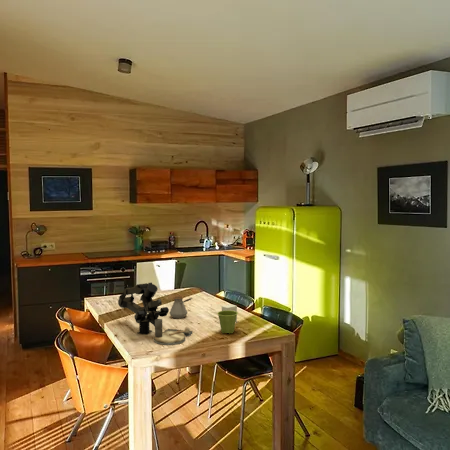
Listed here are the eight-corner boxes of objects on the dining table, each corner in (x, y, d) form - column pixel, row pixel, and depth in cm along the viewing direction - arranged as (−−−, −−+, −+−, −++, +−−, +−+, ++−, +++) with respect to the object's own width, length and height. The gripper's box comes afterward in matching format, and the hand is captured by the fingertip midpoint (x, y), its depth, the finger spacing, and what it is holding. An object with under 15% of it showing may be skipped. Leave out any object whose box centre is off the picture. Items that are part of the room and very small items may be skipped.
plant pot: (216, 329, 273) (216, 310, 272) (237, 329, 273) (237, 310, 273) (217, 335, 261) (217, 315, 260) (238, 335, 262) (238, 315, 261)
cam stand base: (166, 331, 269) (166, 328, 268) (194, 334, 264) (194, 330, 263) (148, 343, 247) (148, 340, 247) (178, 346, 242) (178, 343, 242)
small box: (231, 320, 292) (231, 304, 292) (237, 322, 288) (237, 305, 287) (221, 322, 287) (221, 305, 287) (227, 324, 283) (227, 307, 282)
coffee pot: (166, 316, 302) (166, 293, 301) (181, 313, 309) (180, 291, 308) (184, 323, 285) (184, 299, 284) (199, 320, 292) (199, 297, 291)
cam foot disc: (180, 330, 267) (180, 312, 266) (198, 336, 255) (198, 317, 255) (149, 337, 253) (148, 318, 252) (166, 344, 241) (166, 324, 240)
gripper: (136, 296, 251) (144, 321, 242) (167, 292, 261) (176, 316, 252) (130, 308, 258) (138, 332, 249) (161, 303, 268) (170, 327, 259)
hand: (156, 326), depth 252 cm, fingers closed
